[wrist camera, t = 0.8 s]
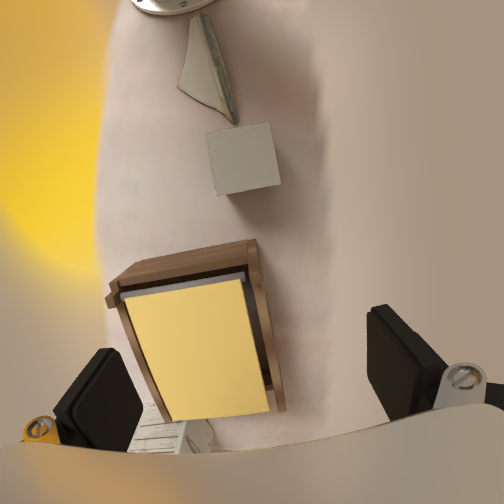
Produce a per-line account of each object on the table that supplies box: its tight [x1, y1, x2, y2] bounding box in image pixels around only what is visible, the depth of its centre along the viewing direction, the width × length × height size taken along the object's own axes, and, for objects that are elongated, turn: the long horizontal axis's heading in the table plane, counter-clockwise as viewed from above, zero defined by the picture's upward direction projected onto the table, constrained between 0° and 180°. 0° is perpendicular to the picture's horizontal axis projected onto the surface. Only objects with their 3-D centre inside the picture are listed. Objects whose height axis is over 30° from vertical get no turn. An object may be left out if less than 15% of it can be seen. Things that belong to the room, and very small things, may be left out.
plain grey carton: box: [205, 122, 281, 196], centre depth 26 cm, size 5×5×7 cm
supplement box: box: [127, 403, 213, 454], centre depth 31 cm, size 7×7×13 cm
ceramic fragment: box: [177, 13, 239, 124], centre depth 26 cm, size 14×5×4 cm, turn 15°
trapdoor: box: [120, 271, 269, 420], centre depth 26 cm, size 14×11×1 cm
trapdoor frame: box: [105, 239, 286, 423], centre depth 29 cm, size 17×13×8 cm
